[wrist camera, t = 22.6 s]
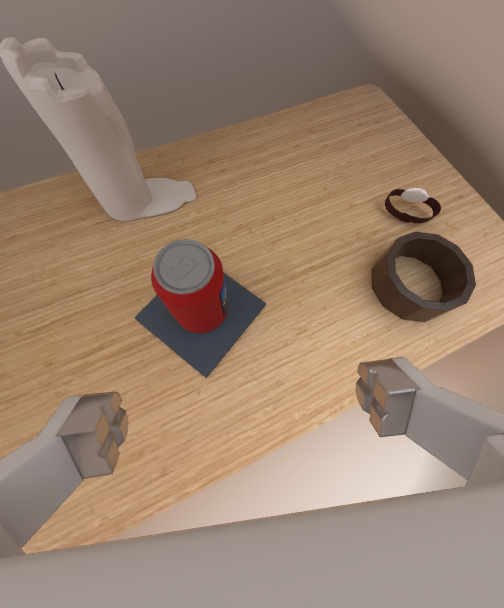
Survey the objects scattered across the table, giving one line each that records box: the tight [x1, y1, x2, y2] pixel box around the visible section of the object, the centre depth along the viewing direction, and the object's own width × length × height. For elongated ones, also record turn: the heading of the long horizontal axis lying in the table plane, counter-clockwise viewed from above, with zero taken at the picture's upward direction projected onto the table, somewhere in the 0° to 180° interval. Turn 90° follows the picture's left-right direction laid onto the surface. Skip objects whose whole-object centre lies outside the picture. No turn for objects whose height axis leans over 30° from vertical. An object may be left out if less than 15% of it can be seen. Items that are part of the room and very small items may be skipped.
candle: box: [0, 37, 197, 221], centre depth 33 cm, size 7×14×20 cm, turn 105°
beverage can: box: [151, 239, 228, 333], centre depth 30 cm, size 7×7×12 cm
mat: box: [135, 273, 266, 378], centre depth 36 cm, size 12×12×1 cm
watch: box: [385, 188, 441, 223], centre depth 41 cm, size 8×5×4 cm, turn 71°
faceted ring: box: [372, 232, 476, 322], centre depth 36 cm, size 11×11×4 cm
